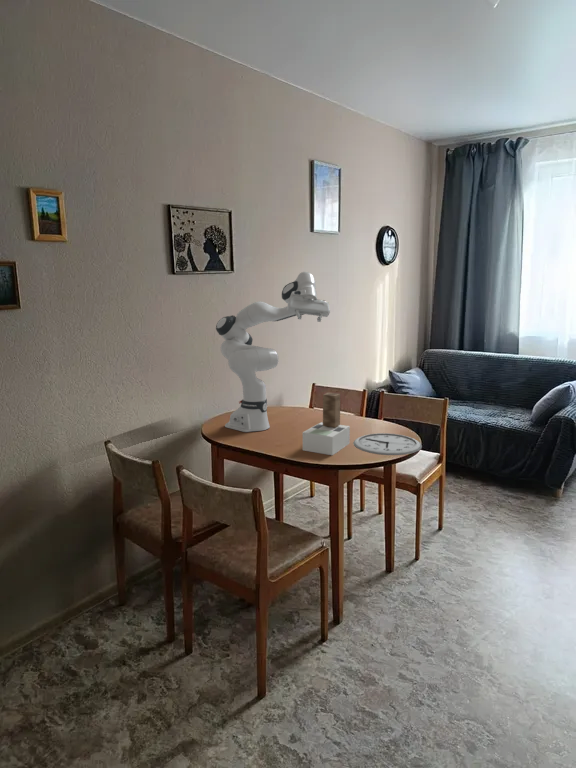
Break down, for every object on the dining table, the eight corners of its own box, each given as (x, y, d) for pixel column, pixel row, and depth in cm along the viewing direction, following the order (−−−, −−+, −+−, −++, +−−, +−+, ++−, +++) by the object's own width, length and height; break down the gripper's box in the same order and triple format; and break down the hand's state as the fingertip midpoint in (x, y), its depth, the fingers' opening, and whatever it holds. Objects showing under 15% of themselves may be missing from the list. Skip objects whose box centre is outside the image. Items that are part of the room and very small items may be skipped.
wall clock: (436, 447, 227) (374, 456, 217) (436, 451, 227) (374, 460, 217) (398, 429, 254) (341, 436, 244) (398, 432, 255) (341, 439, 244)
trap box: (302, 450, 229) (302, 432, 227) (321, 439, 244) (321, 421, 242) (332, 455, 222) (332, 436, 220) (349, 443, 237) (349, 425, 235)
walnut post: (322, 425, 235) (322, 394, 232) (327, 423, 239) (327, 392, 236) (335, 427, 232) (335, 396, 229) (340, 424, 236) (340, 393, 233)
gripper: (326, 305, 262) (329, 326, 254) (286, 300, 258) (287, 321, 250) (330, 296, 257) (332, 317, 249) (288, 291, 253) (290, 312, 245)
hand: (309, 319), depth 249 cm, fingers open, 8 cm apart
